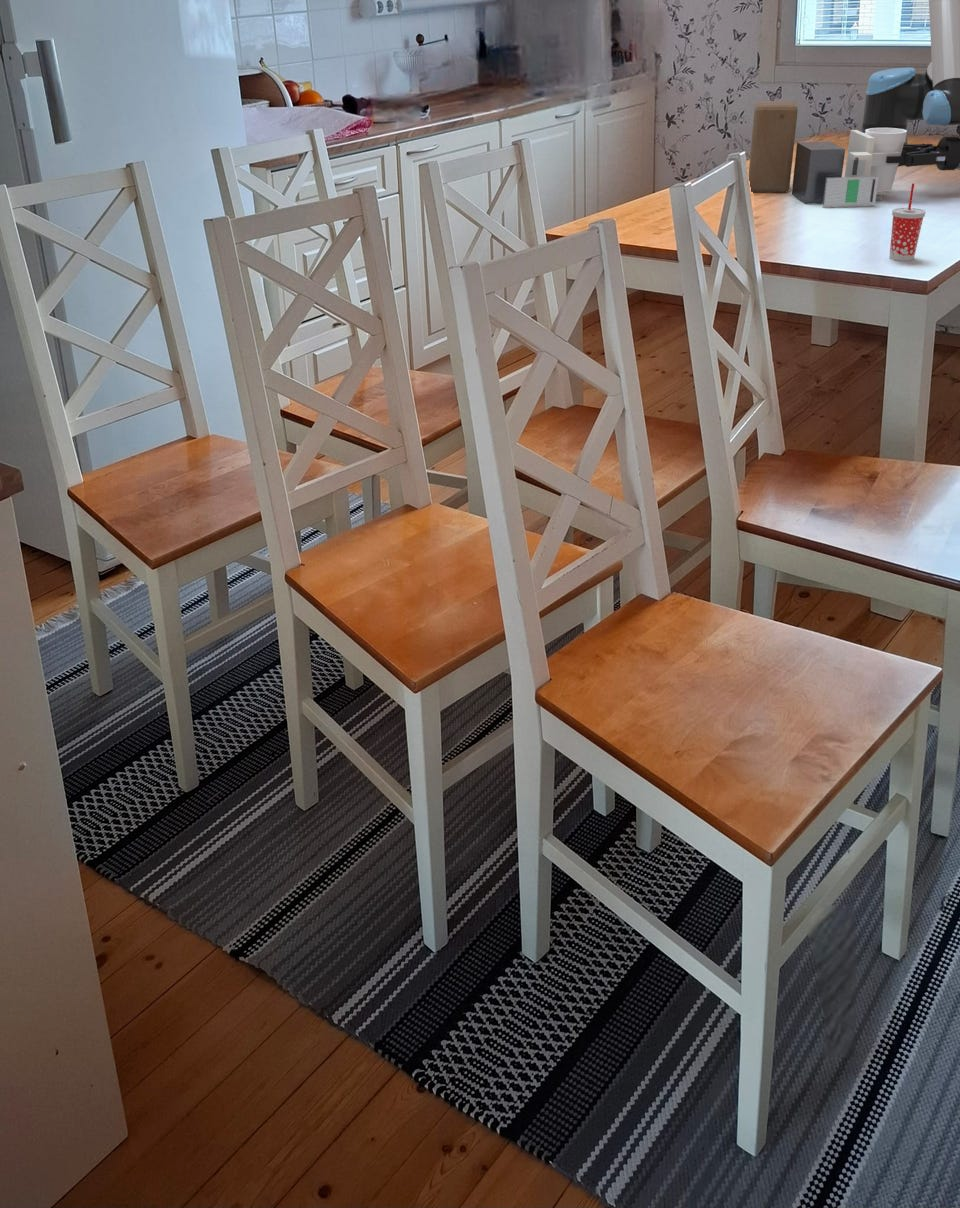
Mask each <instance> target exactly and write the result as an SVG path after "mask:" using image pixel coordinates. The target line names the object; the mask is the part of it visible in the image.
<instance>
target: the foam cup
mask: <svg viewBox="0 0 960 1208" xmlns="http://www.w3.org/2000/svg"><path fill="white" fill-rule="evenodd" d="M907 132H908V129H906V130H904V129H898V128H870V129H866V130H865V134H867V135H869V136H872V137H874V138H875V143H874V150H873V153H892V152H900V156H901V153H902V149H903V145H904V143H905V141H906V136H907V135H908V134H907ZM898 166H899V165H883V166H871V172H870V176H878V177H879V179H878V186H877V192H887V191H888V192H889V191H891V190H892V189H893V185H894V181H895V178H896V174H897V170H898Z"/></svg>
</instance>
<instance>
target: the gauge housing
mask: <svg viewBox="0 0 960 1208" xmlns="http://www.w3.org/2000/svg"><path fill="white" fill-rule="evenodd" d="M845 155H846V148H844V147H842V146H840V145H838V144H837V143H834V142H832V141H828V140H827V141H799V142H796V150H795V158H794V159H795V160H794V168H793V180H792V186H791V195H792V196H793V197H795V198H796V199H797V200H799V201H800V202H802V203H803V204H805V205H807V204H808V205H810V204H811V205H812V204H814V205H815V204H817V205H818V204H822V205H821V206H822V208H824V209H825V208H854V207H856V208H857V207H860V208H861V207H875V206H876V202H877V201H881V200H882V195H880V194H878V195H877V192H878V191H877V186H878V179H879V177H878V176H861V177H845V176H843V173H844V172H843V171H844V164H845V163H844V162H845Z"/></svg>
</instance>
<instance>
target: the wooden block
mask: <svg viewBox="0 0 960 1208" xmlns="http://www.w3.org/2000/svg"><path fill="white" fill-rule="evenodd" d="M798 111H799V110H798V105H797V102H796V101H793V100H758V101H756V102H755V103H754V111H753V120H752V123H753V124H752V133H751V145H750V152H749V153H750V156H749V166H748V167H749V168H748V176H749V181H750V187H751V192H750V193H783V194H785V193H787V192H789V190H790V186H791V178H792V177H791V176H792V167H793V160H794V159H793V157H794V150H795V149H794V148H795V139H796V129H797V119H798Z"/></svg>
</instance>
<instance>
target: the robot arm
mask: <svg viewBox="0 0 960 1208" xmlns="http://www.w3.org/2000/svg"><path fill="white" fill-rule="evenodd" d="M928 8H929V9H928V11H929V29H930V30H929V32H930V33H929V34H930V53H931V61H930V63H929V64H928V66H927V69H926V71H925V72H923V73H918V72H916V68H914V67H906V66H905V67H897V68H896V67H895V68H889V69H887V68H886V69H883V70H879V71H875V72H873V74H871V76H870V77H869V79H868V84H867V88H866V91H865V95H866V96H865V101H864V102H865V104H864V111H863V118H862V126H861V131H860V132H863V133H865V130H866V129H870V128H898V129H904V130H908V129H907V128H908V124H909V123H908V122H909V121H924V123H925V124H926V125H929V126H939V127H940V126H941V127H942V126H943V127H945V126H958V125H959V126H960V0H928ZM883 165H898V166H902V167H903V166H905V167H907V168H909V167H919V166H932V165H936V167H937V169H938V170H939V171H955V170H959V171H960V136H958V135H957V136H955V135H952V136H943V137H942V138H940V139H939V141H938V144H937V145H934V144H933V143H917V144H916V143H909V144H908V137H907V135H906V141H905V143H904V145H903V149H902V153H901V156H900V152H892V153H873V157H872V164H871V166H883Z"/></svg>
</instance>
